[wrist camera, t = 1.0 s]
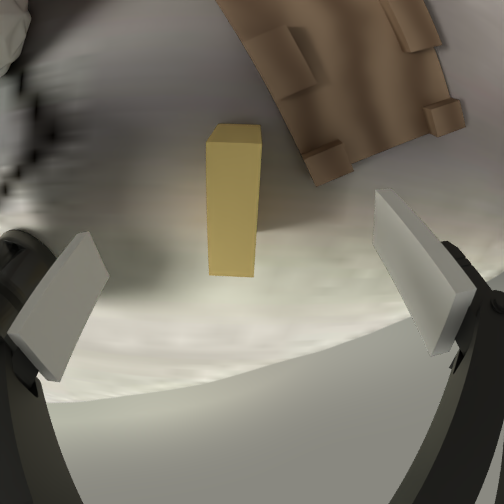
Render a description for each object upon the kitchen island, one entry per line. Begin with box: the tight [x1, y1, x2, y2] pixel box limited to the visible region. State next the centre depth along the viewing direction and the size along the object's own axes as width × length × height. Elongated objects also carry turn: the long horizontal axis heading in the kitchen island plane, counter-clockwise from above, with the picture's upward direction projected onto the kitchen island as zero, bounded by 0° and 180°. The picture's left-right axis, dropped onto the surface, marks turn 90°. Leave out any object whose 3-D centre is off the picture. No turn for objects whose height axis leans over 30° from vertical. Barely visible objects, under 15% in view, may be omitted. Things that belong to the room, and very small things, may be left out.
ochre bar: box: [206, 124, 262, 277], centre depth 27 cm, size 12×4×8 cm, turn 177°
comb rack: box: [215, 0, 466, 187], centre depth 21 cm, size 18×24×3 cm
